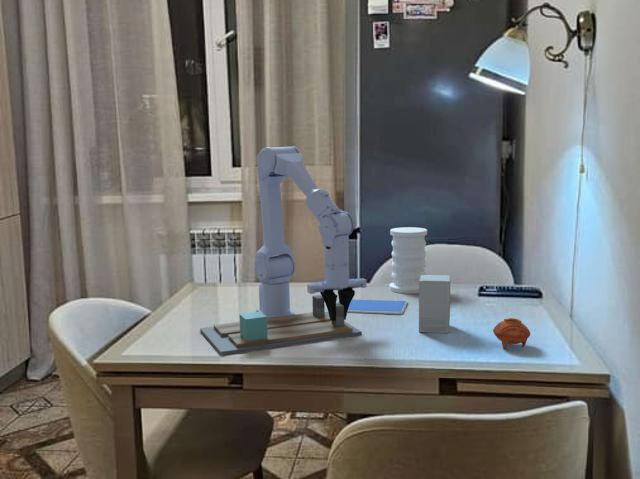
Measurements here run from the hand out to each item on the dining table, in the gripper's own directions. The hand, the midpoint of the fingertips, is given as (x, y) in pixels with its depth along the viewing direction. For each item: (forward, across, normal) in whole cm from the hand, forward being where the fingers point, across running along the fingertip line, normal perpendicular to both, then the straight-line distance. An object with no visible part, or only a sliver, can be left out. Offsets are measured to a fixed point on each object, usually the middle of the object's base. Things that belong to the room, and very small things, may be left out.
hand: (337, 319), depth 167 cm
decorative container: (+3, +37, +31) cm, 48 cm away
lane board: (+3, -13, +5) cm, 14 cm away
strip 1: (+3, -13, +10) cm, 16 cm away
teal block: (+1, -21, 0) cm, 21 cm away
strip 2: (+3, -12, 0) cm, 12 cm away
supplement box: (+3, +22, -8) cm, 24 cm away
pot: (+3, +30, -27) cm, 40 cm away
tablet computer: (+4, +17, +17) cm, 24 cm away
